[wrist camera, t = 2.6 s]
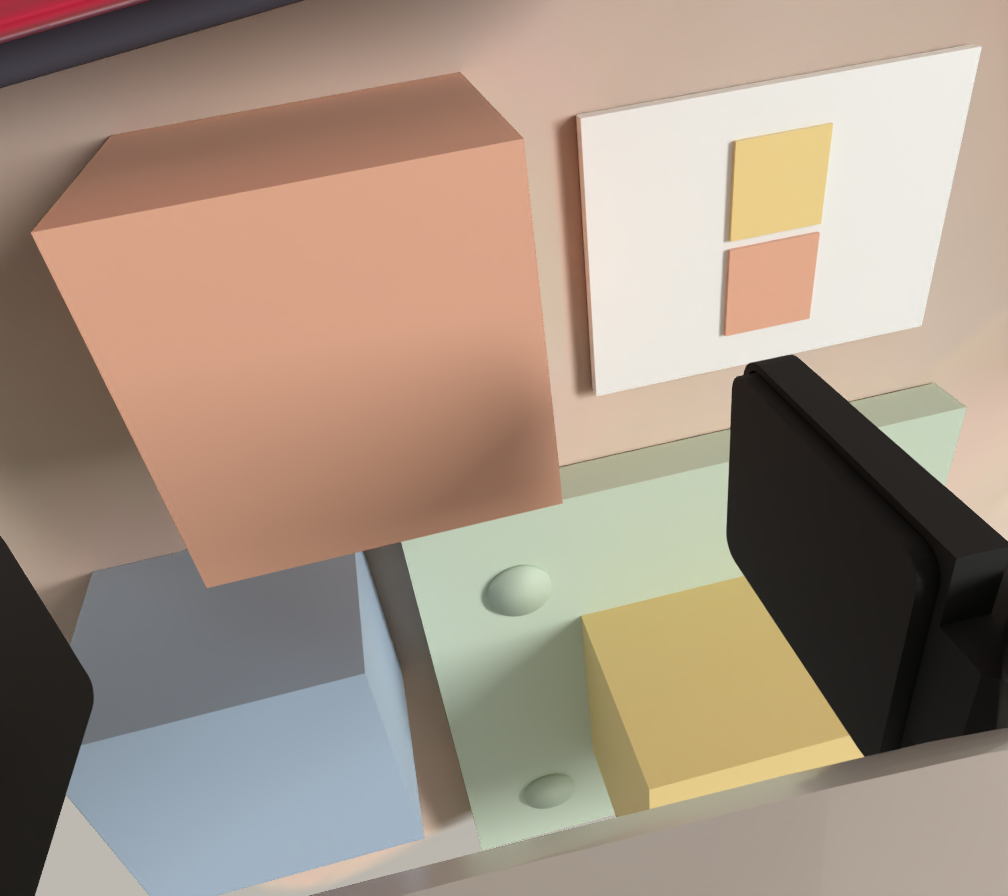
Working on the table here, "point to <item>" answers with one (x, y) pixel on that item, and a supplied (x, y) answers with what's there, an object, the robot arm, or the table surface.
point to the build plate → (587, 604)
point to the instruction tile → (767, 215)
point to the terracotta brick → (318, 320)
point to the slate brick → (241, 723)
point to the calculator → (101, 29)
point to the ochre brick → (701, 698)
